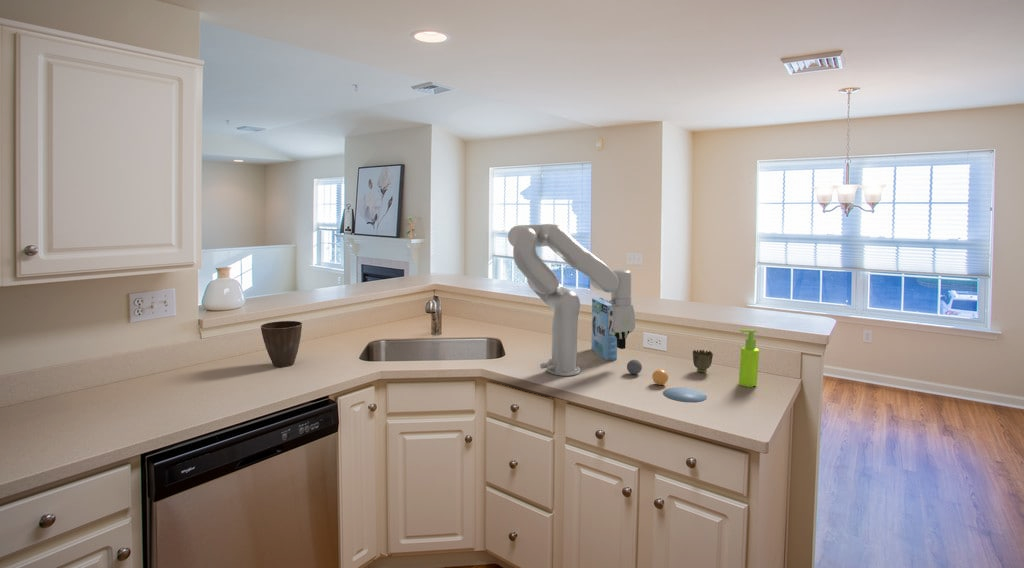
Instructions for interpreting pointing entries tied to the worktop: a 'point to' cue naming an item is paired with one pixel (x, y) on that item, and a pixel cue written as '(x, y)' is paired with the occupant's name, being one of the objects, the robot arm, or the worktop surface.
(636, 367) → the grey sphere
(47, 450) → the worktop surface
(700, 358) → the cup
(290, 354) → the plant pot
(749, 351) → the soap dispenser
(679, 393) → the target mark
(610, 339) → the gum box
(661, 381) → the object ball
